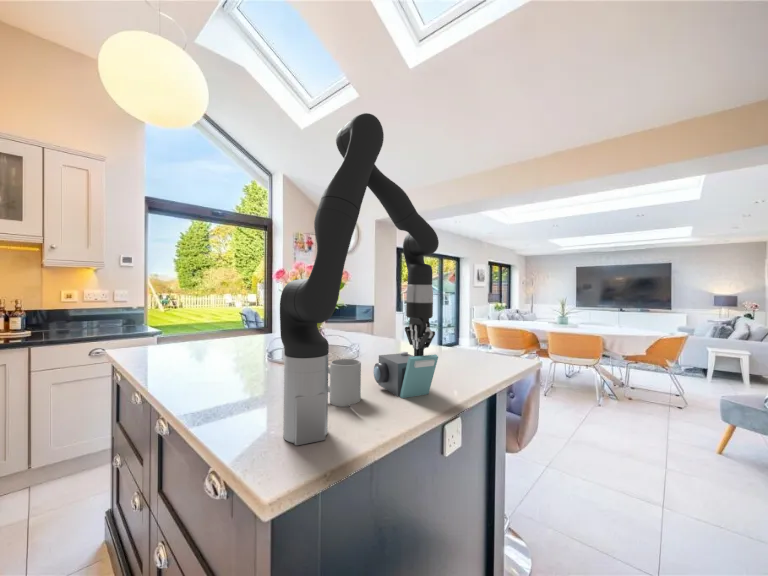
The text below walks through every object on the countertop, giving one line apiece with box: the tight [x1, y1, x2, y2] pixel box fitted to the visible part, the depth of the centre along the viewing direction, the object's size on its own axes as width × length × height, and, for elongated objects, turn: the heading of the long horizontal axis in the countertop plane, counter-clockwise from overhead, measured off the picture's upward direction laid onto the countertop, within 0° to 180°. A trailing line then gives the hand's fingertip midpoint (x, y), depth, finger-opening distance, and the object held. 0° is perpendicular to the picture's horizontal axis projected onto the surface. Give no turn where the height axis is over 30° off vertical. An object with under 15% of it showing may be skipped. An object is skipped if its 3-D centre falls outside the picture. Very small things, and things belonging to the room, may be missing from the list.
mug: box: [328, 358, 362, 408], centre depth 92 cm, size 12×8×11 cm
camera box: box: [373, 351, 414, 397], centre depth 102 cm, size 13×13×11 cm
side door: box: [399, 354, 439, 399], centre depth 93 cm, size 2×9×13 cm, turn 116°
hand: (418, 361), depth 94 cm, fingers closed
